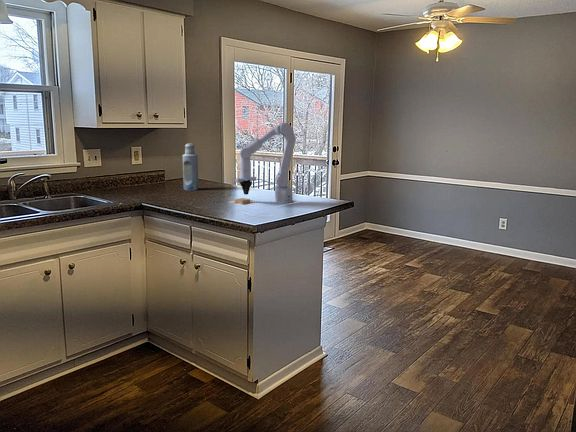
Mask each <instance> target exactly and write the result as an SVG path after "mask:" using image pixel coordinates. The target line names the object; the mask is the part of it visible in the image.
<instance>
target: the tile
mask: <svg viewBox="0 0 576 432" xmlns="http://www.w3.org/2000/svg"><path fill="white" fill-rule="evenodd" d="M234 200H235V203H234V204H236V203H241V204H240V205H242V204H244V203H249V202H250V200H251V199H250V198H243V197H242V198H236V199H234Z"/></svg>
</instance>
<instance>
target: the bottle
mask: <svg viewBox="0 0 576 432" xmlns="http://www.w3.org/2000/svg"><path fill="white" fill-rule="evenodd" d="M198 159H199V158H198V154H196V151H195V144H193V143H186V144H185V145H184V154H182V180H183V190H184V191H197V190H199V169H198V168H199V162H198Z"/></svg>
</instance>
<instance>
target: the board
mask: <svg viewBox="0 0 576 432" xmlns="http://www.w3.org/2000/svg"><path fill="white" fill-rule="evenodd" d="M228 203H230V204H237V205H242V206H247V205H252V204H256V203H257V204H258V203H260V200H259V201H258V200H253V199H252V200H251V199H250V202H249V203H244V204H241V203H235V199H234V200H231V201H230V200H229V201H228Z"/></svg>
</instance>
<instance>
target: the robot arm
mask: <svg viewBox="0 0 576 432" xmlns="http://www.w3.org/2000/svg"><path fill="white" fill-rule="evenodd" d="M279 135H280V136H283V138H284V139H285V141H286V143H285V145H284V150H283V154H282V158H281V162H280V166H279V170H278V172H277V174H276V175H275V177H274V182H275V186H274V201H275V202H276V203H282V204H285V205H287V204H288V203H290V204H291V203H292V204H293V190H292V188H291V187H289V185H288V184H289V177H288V176H289V169H290V166H291V161H292V157H293V153H294V149H295V145H296V140H297V138H296V135H295V132H294V129H293V126H291V124H289V123H288V122H281V123H280V122H279V124H277V125H275V126H273V127H272V128H271V129H269V131H267V132H266V133H265V134H264V135H262V136H261V137H260V138H254V139H252V140H251V142H250V143H249V144H246V145H245V147H243V148H241V149H240V151H239V156H240V177H238V178H235V179H234V181H235V183H237V184H238V183H239V184H240V187H241V188H242V191H243V195H249V192H250V189H251V186H252V184H253V181H257V176H252V161H251V158H252V155H254V154H255V153H256V152H258V151H259V150H260V149H262V148H263V145H264V144H265V143H266V142H267V141H269V140H270V139H272V138H273V137H274V136H279Z"/></svg>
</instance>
